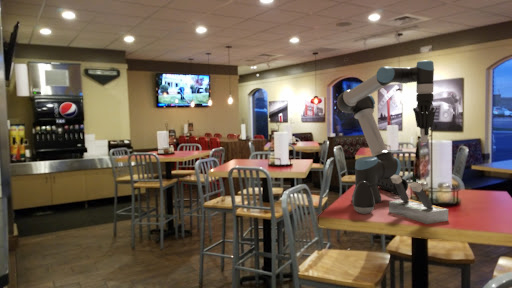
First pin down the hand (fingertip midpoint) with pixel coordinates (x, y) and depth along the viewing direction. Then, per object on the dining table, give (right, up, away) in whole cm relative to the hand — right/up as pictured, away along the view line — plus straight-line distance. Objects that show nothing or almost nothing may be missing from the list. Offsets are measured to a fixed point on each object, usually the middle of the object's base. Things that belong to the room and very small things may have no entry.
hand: (424, 142), depth 189 cm
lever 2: (-7, -29, -20) cm, 36 cm away
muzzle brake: (-2, -30, +44) cm, 53 cm away
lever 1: (-12, -28, -7) cm, 31 cm away
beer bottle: (+16, -29, +44) cm, 55 cm away
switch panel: (-9, -34, -13) cm, 37 cm away
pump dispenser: (-31, -34, -5) cm, 46 cm away
